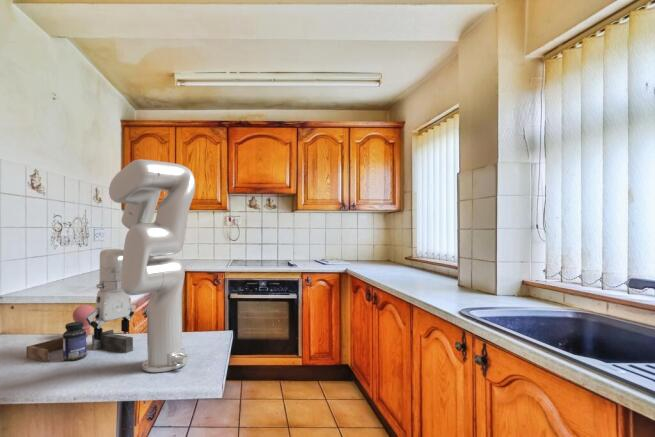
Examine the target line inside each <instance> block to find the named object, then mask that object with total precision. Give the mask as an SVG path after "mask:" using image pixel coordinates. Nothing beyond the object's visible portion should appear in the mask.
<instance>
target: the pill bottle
mask: <svg viewBox="0 0 655 437" xmlns="http://www.w3.org/2000/svg"><path fill="white" fill-rule="evenodd" d="M64 326H65V327H64V328H65V329H66V331H65V332H63V334H62V337H63V348H62V350H63V351H62V352H63V360H64V361H65V362H73V361H79V360H82V359H84V358H86V356H87V336H86V331H85V330H84V329H82V327H83V322H75V321H72V322H68V323H66V324H65V325H64Z"/></svg>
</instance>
